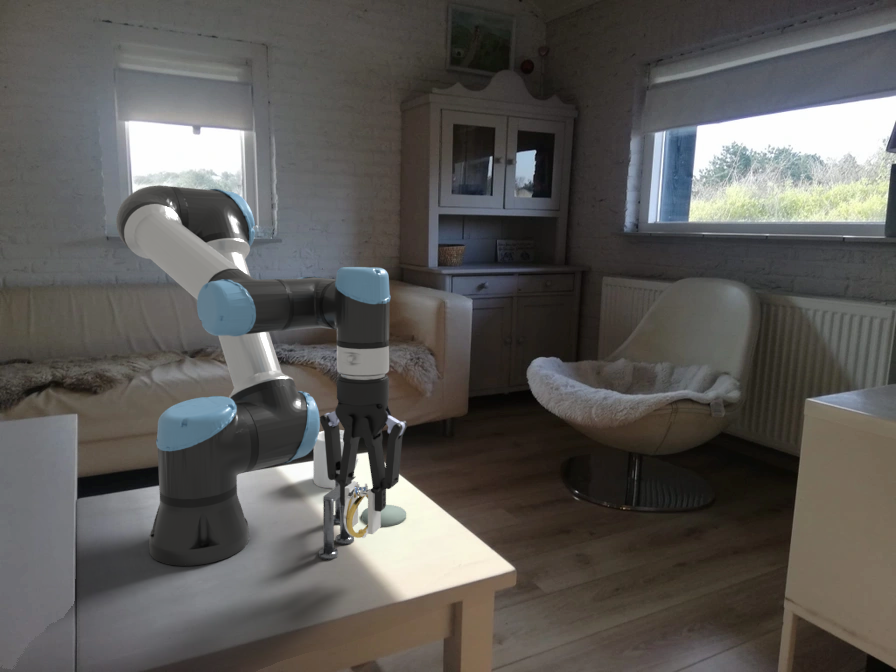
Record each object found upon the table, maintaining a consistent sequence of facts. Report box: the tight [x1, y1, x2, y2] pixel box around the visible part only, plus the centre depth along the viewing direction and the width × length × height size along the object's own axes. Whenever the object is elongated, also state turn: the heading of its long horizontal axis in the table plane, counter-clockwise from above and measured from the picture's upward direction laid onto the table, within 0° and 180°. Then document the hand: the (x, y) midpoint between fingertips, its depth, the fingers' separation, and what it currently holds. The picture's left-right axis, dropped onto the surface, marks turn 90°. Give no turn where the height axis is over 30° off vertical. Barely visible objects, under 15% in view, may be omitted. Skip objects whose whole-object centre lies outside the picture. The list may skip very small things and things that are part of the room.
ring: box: [344, 483, 371, 539], centre depth 96 cm, size 7×3×8 cm, turn 144°
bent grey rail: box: [318, 481, 355, 561], centre depth 109 cm, size 8×15×10 cm, turn 161°
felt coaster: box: [361, 504, 407, 527], centre depth 118 cm, size 8×8×1 cm
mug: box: [313, 429, 359, 489], centre depth 133 cm, size 8×12×10 cm
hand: (362, 527), depth 97 cm, fingers closed on ring, 3 cm apart
